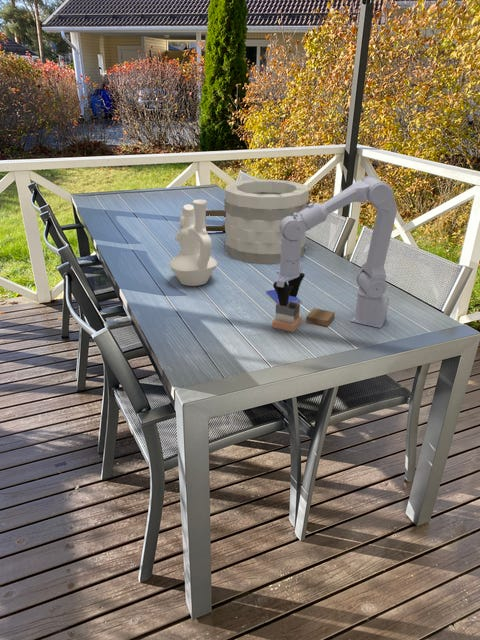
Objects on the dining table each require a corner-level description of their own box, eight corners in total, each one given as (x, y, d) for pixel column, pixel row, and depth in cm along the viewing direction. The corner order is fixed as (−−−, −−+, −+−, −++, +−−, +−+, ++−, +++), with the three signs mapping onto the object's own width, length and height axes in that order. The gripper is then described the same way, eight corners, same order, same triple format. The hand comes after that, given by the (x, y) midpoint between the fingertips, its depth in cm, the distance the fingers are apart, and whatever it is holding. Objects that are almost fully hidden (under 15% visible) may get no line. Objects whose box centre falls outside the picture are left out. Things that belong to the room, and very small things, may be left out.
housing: (298, 318, 155) (299, 303, 152) (293, 324, 151) (294, 309, 149) (281, 314, 157) (281, 299, 155) (275, 319, 154) (275, 305, 151)
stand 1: (301, 322, 156) (302, 317, 156) (293, 332, 151) (293, 326, 150) (281, 318, 159) (281, 312, 158) (272, 327, 154) (272, 321, 153)
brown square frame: (174, 233, 242) (174, 224, 240) (190, 216, 269) (190, 208, 267) (237, 236, 237) (237, 227, 235) (247, 219, 264) (247, 210, 262)
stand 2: (334, 317, 159) (334, 312, 159) (327, 326, 154) (327, 321, 153) (313, 313, 162) (313, 307, 161) (305, 322, 157) (306, 316, 156)
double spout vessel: (209, 270, 197) (207, 188, 182) (227, 291, 178) (226, 202, 164) (165, 276, 191) (159, 192, 177) (179, 298, 173) (173, 206, 158)
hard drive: (302, 301, 168) (287, 287, 179) (279, 304, 166) (266, 290, 177) (301, 305, 169) (287, 291, 180) (279, 308, 167) (266, 294, 177)
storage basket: (286, 235, 238) (288, 177, 226) (319, 259, 208) (324, 193, 196) (215, 243, 228) (214, 182, 216) (239, 269, 199) (239, 200, 186)
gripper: (287, 249, 153) (285, 289, 159) (267, 263, 141) (266, 307, 147) (308, 252, 150) (306, 293, 156) (290, 267, 138) (288, 311, 144)
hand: (288, 300), depth 151 cm, fingers open, 7 cm apart
